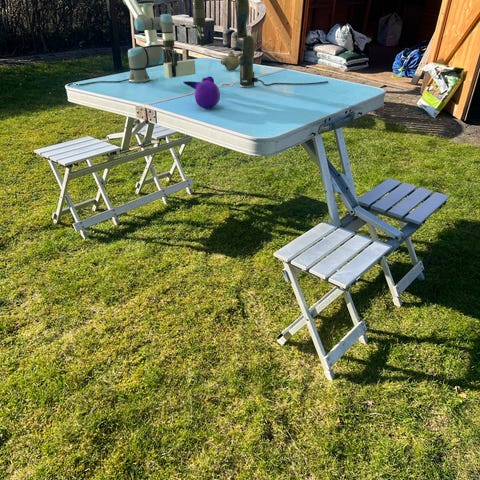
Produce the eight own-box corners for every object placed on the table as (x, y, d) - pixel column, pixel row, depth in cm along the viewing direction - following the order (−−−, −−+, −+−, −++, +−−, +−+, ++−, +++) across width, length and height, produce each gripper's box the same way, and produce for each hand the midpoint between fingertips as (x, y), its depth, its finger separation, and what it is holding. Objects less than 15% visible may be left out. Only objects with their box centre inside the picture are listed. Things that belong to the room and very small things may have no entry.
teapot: (224, 72, 363) (223, 52, 355) (217, 70, 371) (216, 51, 364) (246, 69, 372) (246, 50, 364) (239, 67, 380) (239, 48, 373)
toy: (207, 99, 283) (220, 114, 262) (180, 94, 275) (191, 110, 255) (213, 74, 275) (226, 87, 254) (185, 68, 267) (197, 82, 247)
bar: (169, 78, 309) (167, 64, 304) (164, 77, 312) (163, 63, 308) (195, 73, 321) (194, 60, 317) (191, 73, 325) (190, 59, 320)
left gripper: (180, 40, 297) (183, 77, 308) (165, 38, 309) (169, 73, 321) (171, 41, 293) (174, 78, 304) (156, 39, 305) (160, 75, 316)
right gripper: (207, 17, 273) (209, 46, 281) (202, 15, 284) (203, 43, 293) (195, 17, 271) (197, 46, 279) (190, 16, 283) (192, 44, 291)
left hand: (171, 76), depth 312 cm, fingers closed on bar, 5 cm apart
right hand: (200, 45), depth 286 cm, fingers open, 8 cm apart
